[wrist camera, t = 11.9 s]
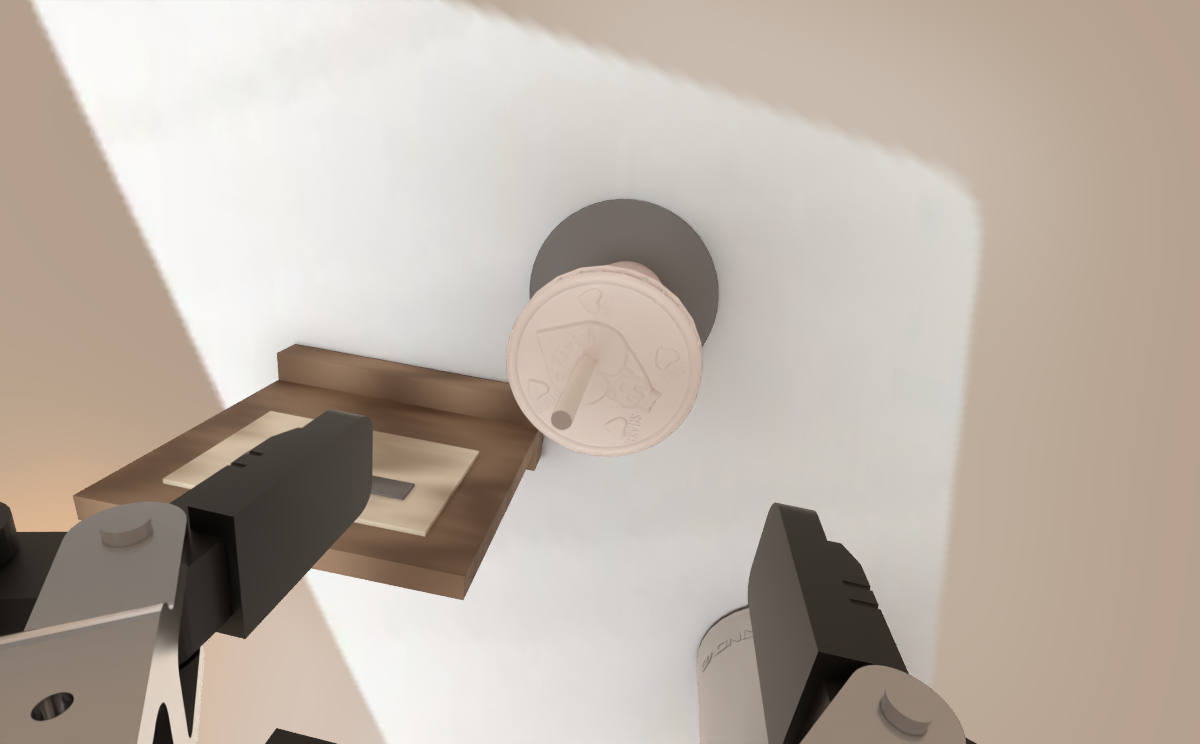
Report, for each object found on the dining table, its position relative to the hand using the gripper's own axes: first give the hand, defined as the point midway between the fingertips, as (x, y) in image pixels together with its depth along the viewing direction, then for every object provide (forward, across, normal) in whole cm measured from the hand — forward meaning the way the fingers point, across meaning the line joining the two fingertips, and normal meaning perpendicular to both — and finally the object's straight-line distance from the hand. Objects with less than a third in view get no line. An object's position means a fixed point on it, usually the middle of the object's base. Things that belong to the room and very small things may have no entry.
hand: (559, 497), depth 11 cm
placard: (+17, +11, +8) cm, 22 cm away
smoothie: (+17, 0, 0) cm, 17 cm away
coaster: (+18, +1, 0) cm, 18 cm away
